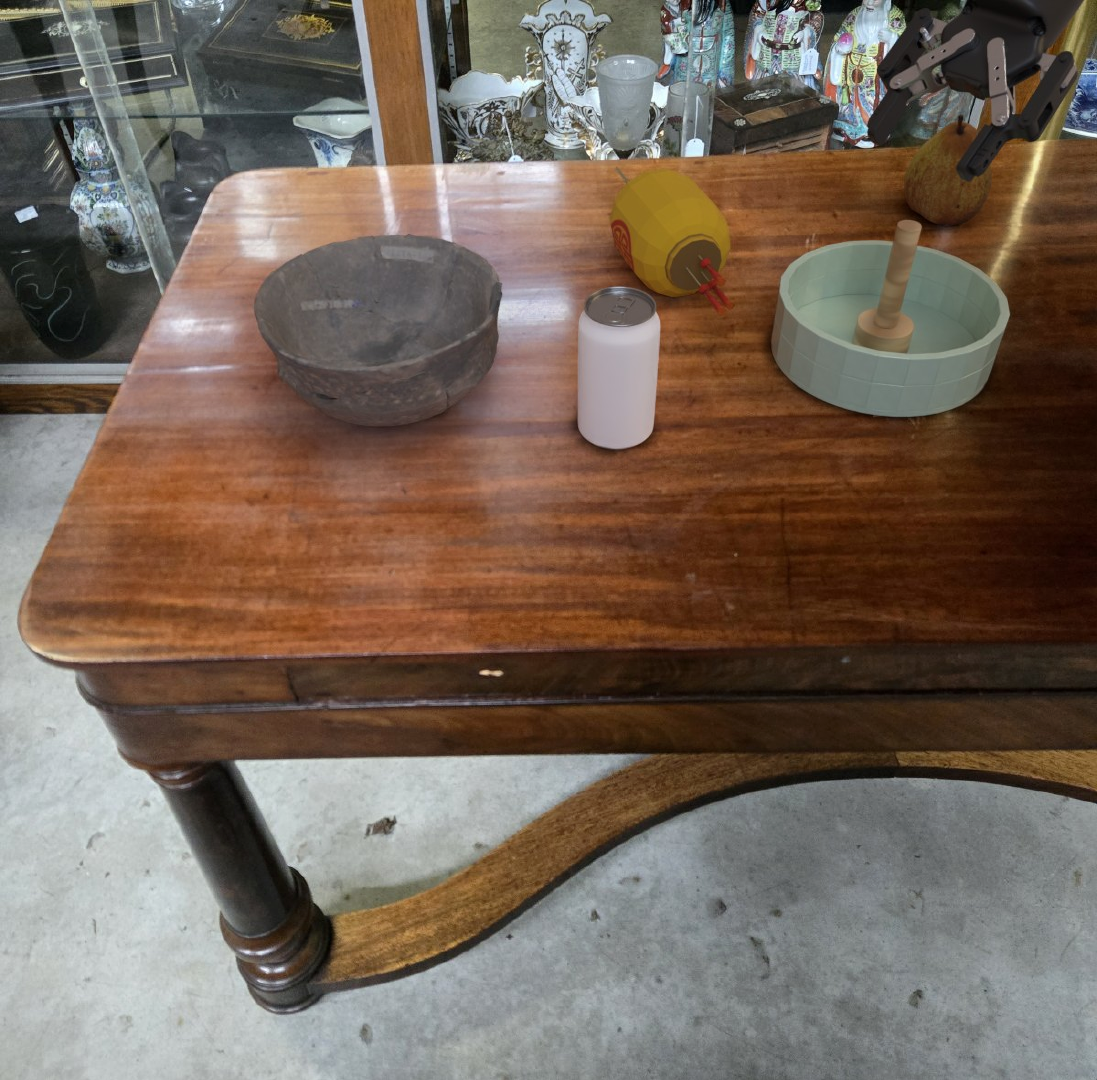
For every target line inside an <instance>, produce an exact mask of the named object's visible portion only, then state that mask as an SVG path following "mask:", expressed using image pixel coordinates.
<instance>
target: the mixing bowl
mask: <svg viewBox="0 0 1097 1080" xmlns="http://www.w3.org/2000/svg"><path fill="white" fill-rule="evenodd" d="M892 244H893V240H892V241H891V240H881V239H880V240H879V239H878V240H877V239H869V240H867V239H866V240H848V241H843V242H837V243H832V244H827V245H823V246H821V247H818V248H815V249H813V250H810V251H807V252H805V253H804V254H802V255H801V256H799V257H798V258H796V259H795V260H794V261H792V262H791V263H789V265H788V266H787V268H786V269H785V271H784V272H783V273H782V275H781V277H780V281H779V286H778V292H777V299H776V304H775V305H776V306H775V310H774V311H775V312H774V318H773V325H772V331H771V332H772V333H771V339H770V349H771V353H772V356H773V359H774V361H775V363H776V365H777V366H778V368H779V369H780V371H781V372H782V373H783V374H784V376H786V377H787V378H788V380H789V381H791V382H792V383H793V384H794V385H795V386H797V387H798V388H800V389H801V390H803V391H804V392H806V393H808V394H809V395H811V396H813V397H815V398H817V399H819V400H820V401H823V402H826V403H828V404H831V405H833V406H835V407H839V408H842V409H844V410H848V411H852V412H856V413H861V414H864V415H865V414H866V415H873V416H880V417H890V418H892V417H893V418H913V417H925V416H931V415H935V414H940V413H944V412H947V411H951V410H953V409H956V408H958V407H961V406H962V405H965V404H966V403H968V402H970V401H971V400H972V399H974V398H975V397H976V396H977V395H979V394H980V392H981V391H982V390H983V389H984V388H985V386H986V384H987V382H988V380H989V378H990V374H991V372H992V369H993V367H994V363H995V361H996V358H997V355H998V352H999V349H1000V346H1001V343H1002V340H1003V337H1004V334H1005V332H1006V328H1007V326H1008V323H1009V320H1010V316H1011V312H1010V307H1009V302H1008V298H1007V296H1006V295H1005V293H1004V291H1003V290H1002V289H1001V287H1000V286H999V284H998V283H997V282H996V281H995V280H993V278H991V276H988V275H987V274H986V273H985V272H984V271H982V270H981V269H980V268H978V267H976V266H974V265H973V264H971V263H969V262H968V261H965V260H963V259H961V258H959V257H957V256H956V255H952V254H949V253H946V252H944V251H941V250H938V249H935V248H933V247H926V246H922V245H918V244H917V248H916V252H915V256H914V260H913V264H912V268H911V272H910V276H909V280H908V284H907V288H906V291H905V295H904V299H903V303H902V307H901V311H900V312H901V313H903V314H905V315H907V316H908V317H909V318H910V319H911V320H912V321H913V323H914V330H913V334H912V338H911V341H910V345H909V349H908V352H907V354H905V353H895V352H886V351H878V350H874V349H870V348H866V347H862V346H858V345H854V344H852V341H853V336H854V332H855V327H856V323H857V319H858V316H859V315H860V314H861V313H862V312H864V311H866V310H869V309H874V308H878V303H879V299H880V295H881V291H882V287H883V282H884V278H885V274H886V270H887V265H888V261H889V257H890V253H891V248H892Z"/></svg>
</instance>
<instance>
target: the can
mask: <svg viewBox="0 0 1097 1080" xmlns="http://www.w3.org/2000/svg"><path fill="white" fill-rule="evenodd" d="M660 340H661V319H660V317H659V314H658V313H657V303H656V301H655V299H654V298H653V297H652V295H650V294H649V293H647V292H645V291H644V290H641V289H638V288H634V287H630V286H608V287H604V288H601V289H598V290H595V291H594V292H591V293H590V294H589V295H588V296H587V297H586V298H585V300H584V301H583V311H582V312H581V314H580V316H579V319H578V325H577V427H578V431H579V433H580V435H582V437H583V438H584V439H585V440H586V441H588V442H589V443H590V444H591V445H593V446H596V447H598V448H601V449H607V450H615V451H616V450H617V451H618V450H619V451H620V450H629V449H631V448H635V447H638V446H639V445H641V444H642V443H643V442H645V441H646V440H647V439H648V438H649V437H650V436H651V434H652V433H653V432H654V431H653V430H654V426H655V415H656V413H655V412H656V402H657V401H656V400H657V388H658V387H657V386H658V374H659V372H658V370H659V358H660V343H661V341H660Z"/></svg>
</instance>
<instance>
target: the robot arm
mask: <svg viewBox="0 0 1097 1080" xmlns="http://www.w3.org/2000/svg"><path fill="white" fill-rule="evenodd" d="M1084 2H1085V0H966V1H965V4H964V6H963V8H962V10H961V12H959V13H958V15H957V16H955V17H954V18H953V19H952V20H950V21H948V22H946V21H943V20H941V19H939V18H936V17H934V15H933V14H932V12H931V10H930V9H929V8H927V7H924V8H920V9H919V10H918V11H917V12H916V13H915V14H914V16H913V18H912V19H911V20H910V21H909V23H908V24H907V26H906V27H905V28H904V30H903V31H902V33H900V35H899V37H898V38H897V40H896V41H895V42H894V43H893V45H892V46H891V48H890V49H889V50H888V51H887V53H886V54H885V56H884V57H883V59H881V61H880V63H878V65H877V67H876V73H877V75H878V77H879V79H880V80H881V82H882V84H883V86H884V88H885V89H886V92H885V94H884V96H882V98H881V100H880V102H879V103H878V104H877V106H876V109H874V110H873V112H872V114H871V115H870V117H868V119H867V124H866V127H867V131H866V134H867V137H868V138H869V139H870V141H871V143H872V144H875V145H877V146H879V147H881V146H884V144H885V143H886V141H887V140H888V139H889V138H890V135H891V134H892V132H893V131H894V129H895V128H896V127H897V125H898V124H899V122H900V121H901V120H902V117H903V116H904V115H905V114H906V112H907V110H908V109H909V106H908V104H910V103H911V102H913V101H915V100H917V99H920V98H921V97H922V96H924V95H926V94H936V93H938V92H939V91H942V90H943V89H945V88H947V87H949V88H950V90H951V91H955V92H957V93H969V94H971V96H973V97H974V98H975V99H978V100H981V101H983V102H984V101H985V100H986V99H989V98H990V111H991V112H990V113H991V114H990V115H991V122H990V124H989V125H988V124H984V125H983V126H982V128H981V129H980V130H979V133H978V135H977V136H976V138H975V139H974V141H973V142H972V143H971V145H970V146H969V148H968V149H967V151H966V152H965V154H964V155H963V156H962V158H961V159H960V161H959V162H958V164H957V166H956V171H957V173H958V175H959V177H960V179H962V180H965V181H967V182H970V181H972V180H973V178H974V177H975V176H977V177H979V176H981V175H982V174H983V173H984V172H985V171H986V170H987V168H988V167H989V165H990V166H991V164H992V163H993V161H994V160H995V159H996V157H997V155H998V154H999V153H1000V152H1001V150H1002V148H1003V147H1004V146H1005V144H1006V143H1007V142H1009V141H1011V140H1024V141H1025V142H1027V143H1033V142H1036V141H1037V140H1039V139H1040V137H1042V135H1043V133H1044V132H1045V130H1046V128H1047V126H1048V125H1049V123H1050V122H1051V121H1052V119H1053V117H1054V116H1055V114H1056V113H1057V111H1058V109H1059V108H1060V106H1061V104H1062V103H1063V101H1064V100H1065V98H1066V96H1067V95H1068V93H1069V91H1071V90H1072V89H1071V88H1072V87H1073V85H1074V84H1075V82H1076V81H1077V79H1078V77H1079V73H1078V67H1077V63H1076V60H1075V58H1074V54H1073V53H1072V52H1071V51H1069V50H1064V51H1061V52H1059V53H1058V54H1052V53H1048V50H1049V49H1050V48H1051V47H1052V46H1054V44H1055V43H1056V42H1057V40H1058V39H1059V38H1060V36H1061V35H1062V33H1063V31H1064V30H1065V29H1066V27H1067V26H1068V24H1069V23H1070V22H1071V20H1072V18H1074V16H1075V15H1076V13H1077V12H1078V10H1079V9H1080V7H1081V6H1082V5H1083V3H1084ZM937 42H940V45H939V46H938V47H935V48H934V46H935V44H936V43H937ZM933 48H934V49H933ZM926 50H930V51H929V52H927V53H925V52H926ZM939 66H940V72H933V71H934V70H935V69H936V68H937V67H939ZM1038 73H1039V74H1038ZM1037 74H1038V80H1039V84H1038V85H1037V87H1036V88H1035V90H1034V91H1033V93H1032V95H1031V96H1030V97H1029V99H1028V101H1027V102H1026V104H1025V106H1024V107H1023V109H1022V110H1021V112H1020V113H1016V111H1017V109H1016V108H1017V107H1016V86H1017V85H1020V84H1021V83H1023V82H1025V81H1026V80H1028V79H1030V78H1032V77H1033V76H1035V75H1037Z"/></svg>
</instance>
